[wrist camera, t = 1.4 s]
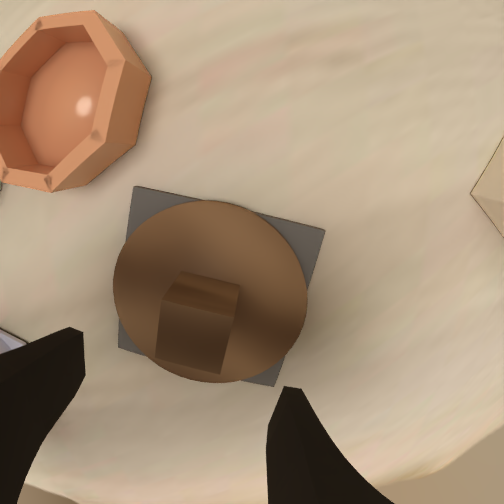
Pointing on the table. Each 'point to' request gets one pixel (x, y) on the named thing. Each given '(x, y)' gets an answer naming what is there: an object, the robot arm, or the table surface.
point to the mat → (296, 234)
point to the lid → (210, 291)
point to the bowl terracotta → (68, 101)
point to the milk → (492, 189)
